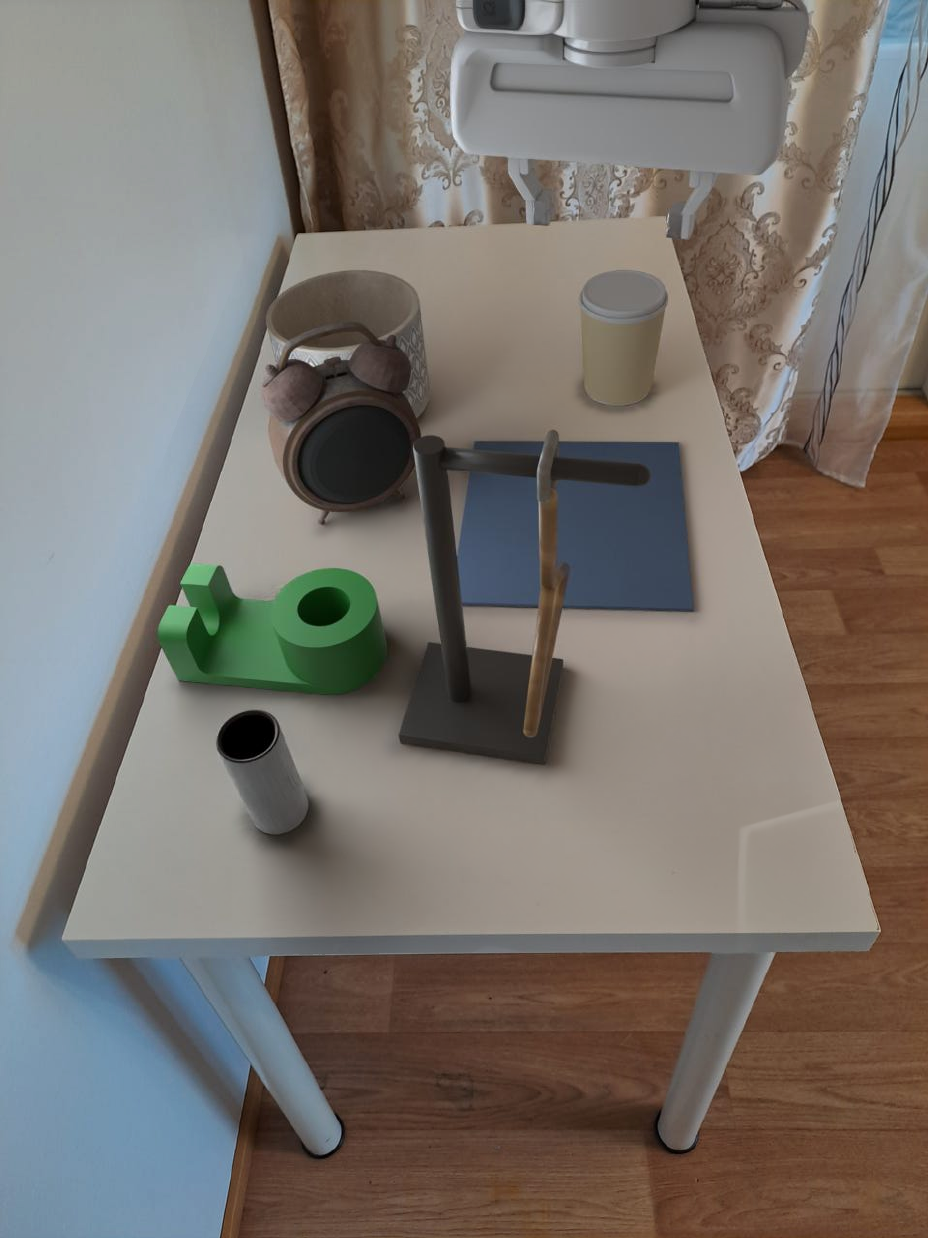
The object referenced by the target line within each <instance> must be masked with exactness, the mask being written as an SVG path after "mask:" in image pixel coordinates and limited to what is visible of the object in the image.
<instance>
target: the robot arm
mask: <svg viewBox="0 0 928 1238" xmlns="http://www.w3.org/2000/svg"><path fill="white" fill-rule="evenodd" d="M784 2H786V3H787V4H790V5H792V6H783V5H784ZM455 6H456V7H455V8H456V9H455V10H456V15H457V20H458V23H459V25H460V26H461V28H463V29H464V30H465V31H464V33H462V34H461V36H460V37H459V38H458V40H457V41H456V44H455V45H454V47H453V51H452V55H451V61H450V75H449V76H450V77H449V111H450V113H449V114H450V128H451V134H452V137H453V139H454V141H455V143H456V144H457V145H458V146H459V148H460V150H461V151H462V152H463V153H464V154H466V155H468V156H469V155H471V156H482V157H483V156H485V157H497V158H498V157H499V158H507V173H508V176H509V177H510V179H511V180H512V182H513V184H514V186H515V187H516V189H517V191H518V192H519V193H520V195H521V197H522V199H523V201H525V218H526V225H530V226H531V225H532V226H542V227H543V226H544V227H549V226H550V225H551V222H552V221H553V220H554V217H555V213H556V212H555V211H556V207H555V206H554V202H555V200H556V198H555V197H556V196H555V195H556V194H555V191H556V190H552V189H544V188H543V185H542V183H541V182H540V179H539V177H538V175H537V174H536V170H535V169H534V166H535V165H536V164H537V162H538V161H539V160H540V161H552V162H564V163H565V162H567V163H581V164H594V165H605V166H606V165H608V166H621V167H633V168H648V169H659V170H660V169H661V170H674V171H689V172H690V174H689V185H688V186H689V187H690V188H692V189H694V190H693V192H692V193H691V194H690V195H689V197H688V198H687V200H686V201H684V200H683V201H682V200H673V202H672V204H671V207H670V208H669V210H668V213H667V220H666V223H667V225H668V226H667V229H666V233H665V237H666V238H667V239H677V240H686V241H687V240H690V239H691V236H692V234H693V232H694V228H695V222H696V213H697V210H698V209H699V208H700V206H701V205H702V204H703V202H705V199H706V198H707V197H708V195H709V194H710V193H711V191H712V190H713V188H714V185H715V183H716V181H717V178H718V176H719V174H730V175H740V176H760V175H763V174H764V173H765V172H766V171H767V170H768V169H769V168H770V167H771V166H773V165H774V163H776V162H777V160H778V159H779V156H780V153H781V152H782V147H783V145H784V139H785V135H786V128H787V120H788V112H789V111H788V110H789V97H790V77H791V76H792V75H793V74H794V73H795V72H796V71H797V69H798V67H800V65H801V62H802V61H803V58H804V55H805V51H806V44H807V39H808V33H809V28H810V16H809V12H808V9H807V7H806V5H805V3H804V2H803V1H802V0H455Z"/></svg>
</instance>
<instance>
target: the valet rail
mask: <svg viewBox="0 0 928 1238" xmlns="http://www.w3.org/2000/svg"><path fill="white" fill-rule="evenodd" d="M413 451H414V458H415V465H416V466H415V472H416V478H417V479H416V480H417V486H418V492H419V501H420V506H421V507H420V509H421V514H422V522H423V528H424V535H425V542H426V549H427V557H428V563H429V572H430V578H431V585H432V586H431V587H432V593H433V599H434V606H435V613H436V614H435V615H436V620H437V627H438V634H439V642H431V641H428V642H427V644H426V648H425V650H424V654H423V657H422V660H421V663H420V666H419V670H418V672H417V675H416V679H415V682H414V685H413V687H412V691H411V694H410V697H409V700H408V704H407V707H406V710H405V713H404V716H403V720H402V722H401V726H400V729H399V732H398V739H399V743H400V744H405V745H410V746H411V745H412V746H419V747H425V748H432V749H439V750H445V751H450V752H457V753H464V754H471V755H478V756H483V757H485V756H486V757H492V758H497V759H505V760H511V761H517V762H525V763H530V764H531V763H532V764H538V765H545V764H546V761H547V755H548V751H549V745H550V740H551V735H552V729H553V725H554V719H555V713H556V708H557V703H558V698H559V694H560V693H559V692H560V687H561V683H562V678H563V671H564V661H565V660H564V658H557V657H552V662H551V667H550V672H549V677H548V682H547V687H546V692H545V697H544V702H543V707H542V712H541V717H540V722H539V726H538V731H537V734H536V735H535V736H534V737H527V736H526V735H525V734H524V732H523V728H524V720H525V711H526V703H527V695H528V687H529V679H530V671H531V663H532V655H533V654H526V653H518V652H510V651H503V650H495V649H486V648H479V647H471V646H468V645H467V644H468V643H467V637H466V627H465V618H464V617H465V616H464V609H463V605H462V598H461V589H460V580H459V570H458V561H457V553H458V551H457V544H456V535H455V534H456V533H455V525H454V517H453V508H452V507H453V506H452V498H451V488H450V479H449V471H455V472H463V473H464V472H465V473H470V472H475V473H486V474H497V475H509V476H520V477H532V478H537V468H538V464H539V460H540V457H541V455H533V454H521V453H509V452H497V451H484V450H473V448H472V449H471V448H458V447H447V446H446V443H445V440H444V439H443V438H442V437H440V436H438V435H433V434H427V435H423V436H421V437H420V438H418V439H417V440H416V441H415V442H414V444H413ZM550 479H554V480H566V481H577V482H589V483H600V484H611V485H623V486H634V487H641V486H644V485H645V484H647V483H648V481H649V479H650V470H649V468H648V467H647V466H646V465H644V464H640V463H629V462H617V461H605V460H593V459H581V458H569V457H557V456H554V459H553V463H552V467H551V471H550Z"/></svg>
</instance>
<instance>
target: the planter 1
mask: <svg viewBox="0 0 928 1238" xmlns="http://www.w3.org/2000/svg"><path fill="white" fill-rule="evenodd" d="M282 730H283V729H282V728H281V726H280V723H279V721H278V720H277V718H276V717H275V716H274V715H273V714H271V712H268V711H265V710H262V709H247V710H243V711H239V712H237V713H235V714H233V715H231V716H230V717H229V718H228V719H226V720H225V721H224V722H223V723H222V725H221V726H220V728H219V729H218V731H217V733H216V737H215V748H216V750H217V753H218V755H219V757H220V759H221V762H222V763H223V765H224V767H225V769H226V771H227V773H228V775H229V777H230V779H231V782H232V783H233V786H234V787H235V789H236V791H237V793H238V795H239V798H240V799H241V801H242V803H243V805H244V807H245V810H246V811H247V814H248V815H249V817H250V819H251V821H252V822H253V825H254V826H255V827H256V828H257V829H258V830H260V831H261V832H263V833H264V834H268V835H283V834H286V833H289V832H291V831H292V830H294V829H296V828H297V827H298V826H299V825H300V824H302V822H303V821H304V819H305V818H306V815H307V814H308V810H309V799H308V795H307V793H306V790H305V787H304V784H303V782H302V779H301V777H300V774H299V772H298V769H297V767H296V766H297V765H296V764H295V762H294V759H293V756H292V754H291V751H290V748H289V746H288V743H287V741H286V737H285V736H284V734H283V733H284V732H283V731H282Z"/></svg>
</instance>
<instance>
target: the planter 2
mask: <svg viewBox="0 0 928 1238" xmlns="http://www.w3.org/2000/svg"><path fill="white" fill-rule="evenodd" d="M420 301H421V300H420V298H419V294H418V293H417V291H416V289H415V288H414V286H412V285H411V284H410V283H409V282H408V281H406V280H404V279H403V278H401V277H399V276H397V275H394V274H390V273H388V272H383V271H377V270H368V269H348V270H340V271H339V270H338V271H333V272H328V273H327V272H326V273H323V274H319V275H316V276H313V277H310V278H307V279H305V280H302V281H300V282H298V283H296V284H293V285H292V286H291V287H288V288H287V289H285V291H283V292H281V293H280V294H279V295H278V296H277V297H276V298H275V299H274V300H273V301H272V303H270V306H269V307H268V309H267V312H266V315H265V322H266V323H265V325H266V329H267V334H268V338H269V340H270V344H271V345H270V346H271V348H272V352H273V355H274V360H275V365H276V364H278V361H279V358H280V355H281V353H282V350H283V347H284V346H285V344H286V343H287V342H288V341H289V340H291V339H293V338H295V337H296V336H298V335H300V334H302V333H304V332H307V331H309V330H312V329H315V328H319V327H323V326H327V325H330V324H336V323H341V322H358V323H360V324H363V325H364V326H365V327H366V328H367V329H368V330H370V331H371V332H372V333H373V335H374V336H375V337H376V338H377V339H380V340H385V341H386V340H387V338H388V337H389V336H390V335H395V336H396V345H397V346H398V347H399V348H400V349H402V350H403V352H404V353H405V354H406V355H407V357H408V359H409V361H410V365H411V376H410V381H409V384H408V387H407V389H406V391H403V393H404V395H405V396H406V398H407V399H408V401H409V403H410V405H411V407H412V409H413V411H414V414H415V416H416V419H417V420H418V418H419V417H420V416H421V414H423V412H424V411H425V409H426V408H427V406H428V404H429V400H430V396H431V389H430V381H429V371H428V361H427V354H426V345H425V337H424V327H423V318H422V311H421V304H420V303H421V302H420ZM368 340H369V339H368V338H367V337H366V336H365V335H364V334H362V333H361V332H341V333H335V334H331V335H328V336H324V337H320V338H317V339H314V340H311V341H308V342H306V343H305V344H303V345H301V346H299V347H297V348H296V349H294V350H293V351H292V353H291V354H290V357H289V359H298V360H301V361H304V362H306V363H308V364H310V365H311V366H313V367H315V366H317V365H320V364H323V363H324V360H326V359H329V358H333V357H340V358H341V360H350V358H351V356H352V354H353V353H354V351H355V350H356V349H357V347H358V346H359V345H361V344H362V343H363V342H365V341H368Z"/></svg>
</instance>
